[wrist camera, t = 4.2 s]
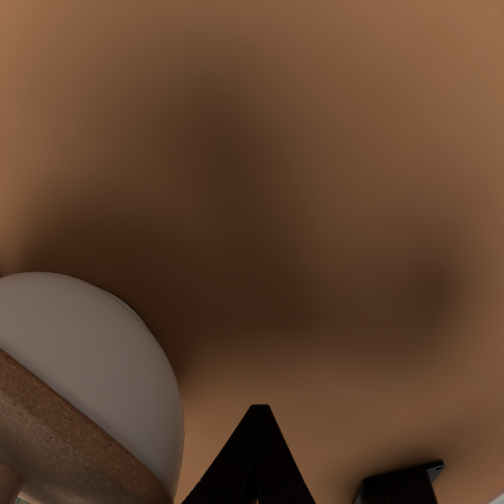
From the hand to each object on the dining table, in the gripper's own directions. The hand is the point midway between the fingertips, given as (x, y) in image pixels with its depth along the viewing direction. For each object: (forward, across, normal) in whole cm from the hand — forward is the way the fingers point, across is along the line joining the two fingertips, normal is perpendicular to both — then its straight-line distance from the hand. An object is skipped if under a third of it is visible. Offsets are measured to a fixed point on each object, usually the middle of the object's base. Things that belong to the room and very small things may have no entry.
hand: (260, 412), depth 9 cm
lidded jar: (+4, +8, 0) cm, 9 cm away
